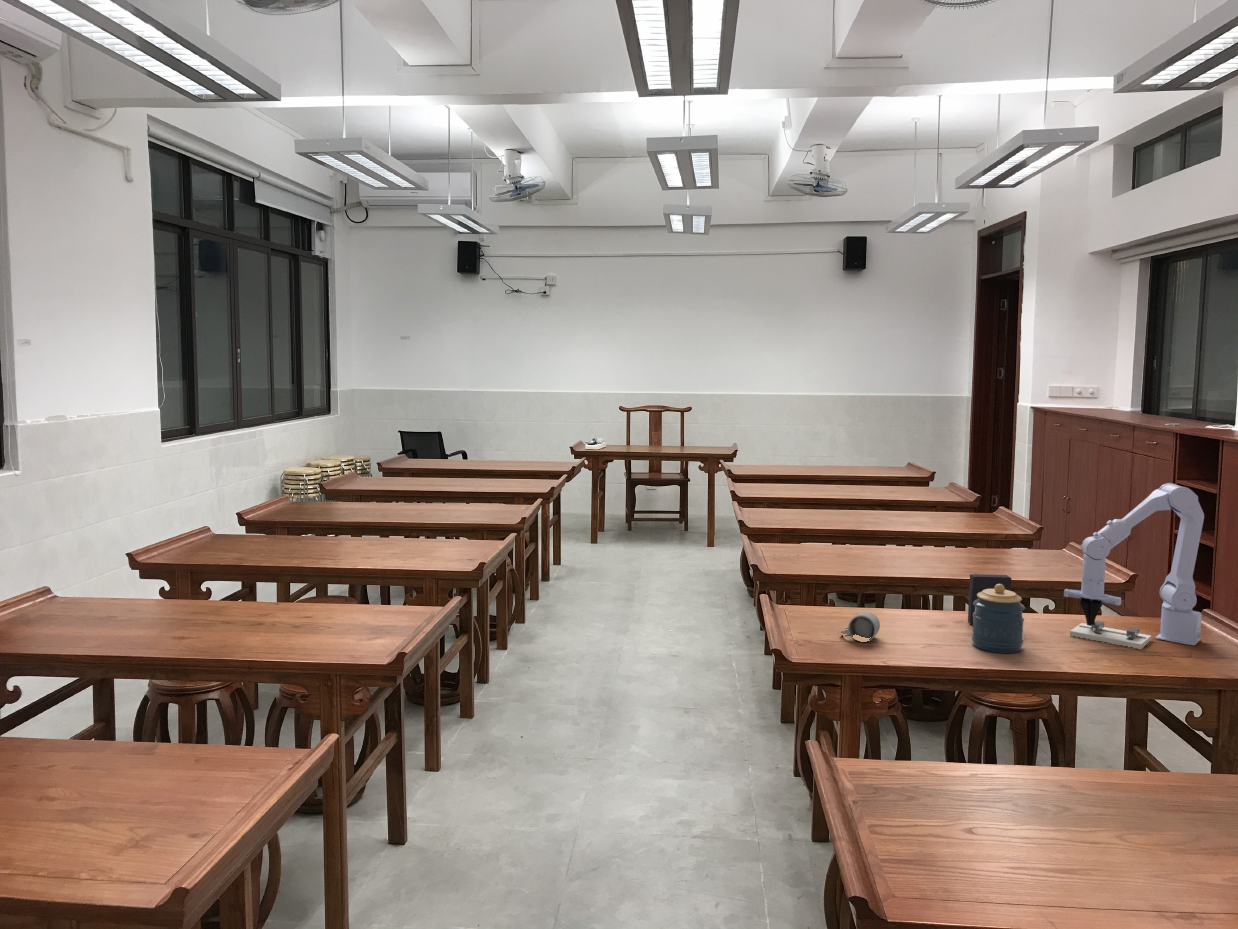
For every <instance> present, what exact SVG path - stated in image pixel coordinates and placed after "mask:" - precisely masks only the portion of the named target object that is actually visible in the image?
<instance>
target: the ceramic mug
mask: <svg viewBox="0 0 1238 929" xmlns="http://www.w3.org/2000/svg"><path fill="white" fill-rule="evenodd" d="M880 627H881V623H880V619H879V618H878V616H877V615H876V614H874V613H873V612H869V611H864V612H860V613H858V614H857V615H855V616H854V617H852V618H851V619H850V621H849V624H848V626H847V627H846V628H845V627H844V629H848V630H845V631H841V630H840V631H841V633H843V634H847V635H848V636H850V637H851V638H852V637H853V635H855V634H856V635H859V636H861V637H865V638H870V637H871V638H870V639H869V640H871V641H872V640H873V639H874V638H875V636H877V634H878V633H879V631H880Z"/></svg>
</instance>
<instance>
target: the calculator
mask: <svg viewBox="0 0 1238 929" xmlns="http://www.w3.org/2000/svg"><path fill="white" fill-rule="evenodd" d="M968 584H969V589H968V609H967V611H968V612H967V623H968V624H970V625H971V626H973V613H974V612H975V606H974V604H973V602H974V601H975V600H977V599H978V598H979V597H978V596H977V594H978V593H979V592H982V591H983V590H985V589H994V587H995V585H997V584H1002V585H1003V586H1004V588H1005V590H1009V591H1011V590H1012V577H1010V576H1009V575H1008V574H989V573H988V574H987V573H986V574H985V573H984V574H983V573H982V574H981V573H977V574H976V573H971V574H969V582H968Z"/></svg>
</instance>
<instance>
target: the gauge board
mask: <svg viewBox="0 0 1238 929" xmlns="http://www.w3.org/2000/svg"><path fill="white" fill-rule="evenodd" d="M1126 634H1127V630H1122V629H1116V628H1112V627H1105V626H1104V628H1103V629H1101V630H1100V631H1093V630H1091V626H1088V625H1087V623H1085V622H1081V623H1079V624H1078V625H1077V626H1075V627H1074V628H1072V629H1071V630H1070V631H1069V637H1073V636H1075V637H1074V638H1078V637H1080V638H1079V639H1083V638H1086V639H1085V640H1088V639H1092V640H1091V641H1093V640H1098V641H1104V642H1109V643H1114V644H1119V645H1123V646H1122V647H1124V646H1128V647H1127V648H1130V647H1133V648H1132V649H1135V648H1138V649H1137V650H1140V649H1141V650H1142V649H1143V648H1145V647H1144V646H1145V645H1146V644H1147V643H1148V642H1149V641H1150V640H1151V641H1152V635H1149V634H1144V633H1140V632H1139V634H1138V635H1137V636H1136V637H1135V638H1133V637H1131V638H1129V637H1127V636H1126ZM1098 641H1097V642H1098ZM1151 641H1150V642H1151ZM1104 642H1103V643H1104ZM1150 642H1149V643H1150ZM1109 643H1108V644H1109ZM1149 643H1148V644H1149ZM1114 644H1113V645H1114ZM1148 644H1147V645H1148ZM1119 645H1118V646H1119ZM1147 645H1146V646H1147Z"/></svg>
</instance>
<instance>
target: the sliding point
mask: <svg viewBox="0 0 1238 929" xmlns="http://www.w3.org/2000/svg"><path fill="white" fill-rule="evenodd" d="M1104 627H1105V622H1104V621H1100V620H1095V622H1094V623H1093V624H1091V630H1093V631H1100V630H1101V629H1103V628H1104Z"/></svg>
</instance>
